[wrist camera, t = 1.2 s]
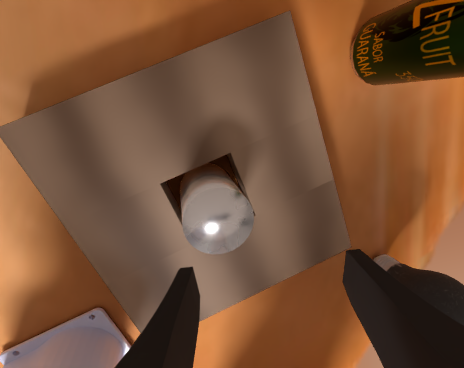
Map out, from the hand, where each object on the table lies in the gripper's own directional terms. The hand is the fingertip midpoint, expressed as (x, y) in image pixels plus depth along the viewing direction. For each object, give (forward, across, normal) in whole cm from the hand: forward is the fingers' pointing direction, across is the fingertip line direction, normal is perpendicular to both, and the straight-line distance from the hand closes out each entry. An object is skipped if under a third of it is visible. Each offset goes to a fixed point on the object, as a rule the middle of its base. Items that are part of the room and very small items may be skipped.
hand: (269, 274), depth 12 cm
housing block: (+11, +4, +1) cm, 12 cm away
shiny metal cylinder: (+11, +4, +1) cm, 12 cm away
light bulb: (+13, -13, +13) cm, 23 cm away
